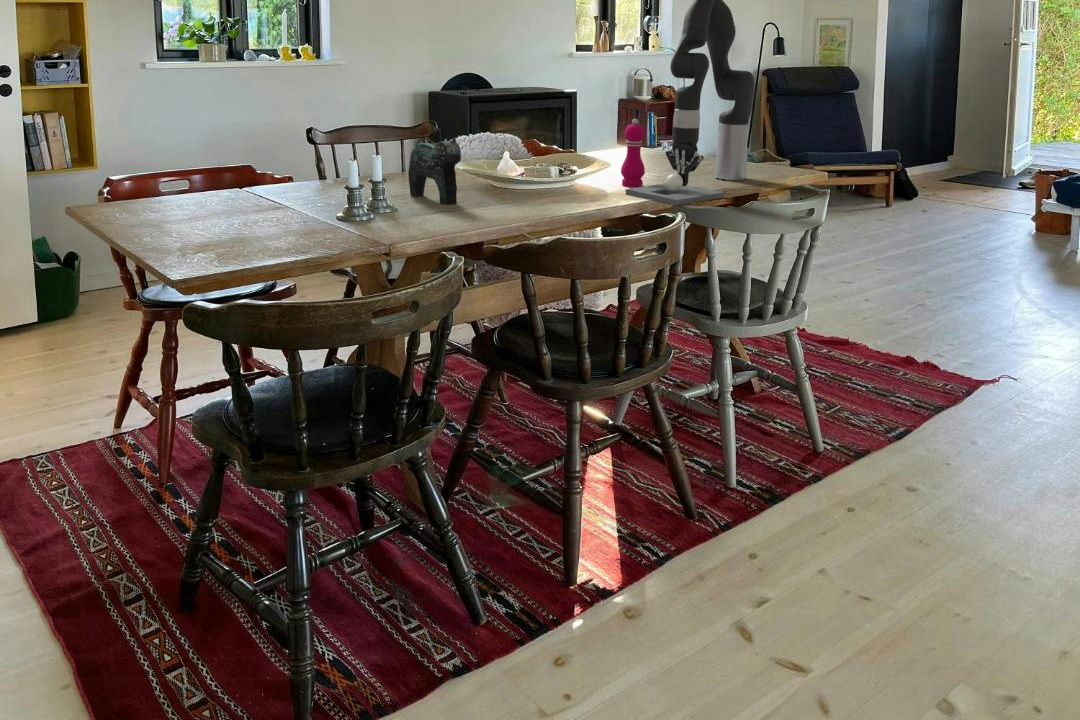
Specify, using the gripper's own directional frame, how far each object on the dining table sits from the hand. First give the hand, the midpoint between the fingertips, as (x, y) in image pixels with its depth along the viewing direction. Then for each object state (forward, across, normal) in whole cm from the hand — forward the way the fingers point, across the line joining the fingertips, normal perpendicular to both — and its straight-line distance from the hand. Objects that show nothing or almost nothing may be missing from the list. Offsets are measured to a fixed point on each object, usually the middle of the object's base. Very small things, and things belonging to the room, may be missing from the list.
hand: (682, 185), depth 308 cm
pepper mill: (+3, +19, +1) cm, 19 cm away
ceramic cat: (+3, +36, +63) cm, 73 cm away
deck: (+3, 0, +3) cm, 4 cm away
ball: (-1, 0, +4) cm, 4 cm away
